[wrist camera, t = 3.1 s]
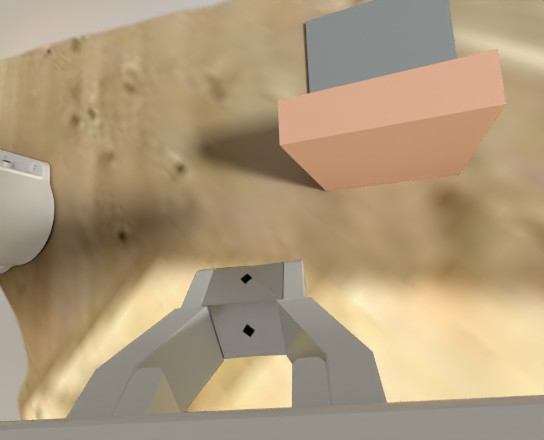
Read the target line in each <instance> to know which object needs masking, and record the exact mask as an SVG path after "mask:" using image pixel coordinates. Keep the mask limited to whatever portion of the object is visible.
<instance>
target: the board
mask: <svg viewBox="0 0 544 440" xmlns="http://www.w3.org/2000/svg"><path fill="white" fill-rule="evenodd" d="M505 105H506V100H505V94H504V87H503V81H502V74H501V68H500V62H499V55H498V49H496V50H492V51H487V52H483V53H479V54H475V55H470V56H466V57H462V58H458V59H453V60H449V61H445V62H441V63H436V64H432V65H428V66H424V67H419V68H415V69H411V70H407V71H402V72H398V73H394V74H389V75H385V76H381V77H377V78H372V79H368V80H364V81H360V82H355V83H351V84H347V85H343V86H338V87H334V88H330V89H326V90H321V91H317V92H313V93H308V94H304V95H300V96H296V97H291V98H287V99H283V100H279V101H278V118H279V142H280V146H281V147H282V148H283V149H284V150H285V151H286V152H287V153H288V154H289V155H290V156H291V157H292V158H293V159H294V160H295V161H296V162H297V163H298V164H299V165H300V166H301V167H302V168H303V169H304V170H305V171H306V172H307V173H308V174H309V175H310V176H311V177H312V178H313V179H314V180H315V181H316V182H317V183H318V184H319V185H321V186H322V187H323V188H324V189H325V190H326V191H332V190H340V189H349V188H357V187H365V186H373V185H382V184H390V183H398V182H406V181H415V180H423V179H431V178H439V177H447V176H456V175H459V174H460V173H461V171H462V170H463V168H464V167H465V165H466V164H467V162H468V161H469V159H470V158H471V156H472V155H473V153H474V152H475V150H476V148H477V147H478V145H479V144H480V142H481V141H482V139H483V138H484V136H485V135H486V133H487V132H488V130H489V129H490V127H491V126H492V124H493V123H494V121H495V120H496V118H497V117H498V115H499V114H500V112H501V111H502V109H503V108H504V106H505Z"/></svg>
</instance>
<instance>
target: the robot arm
mask: <svg viewBox="0 0 544 440" xmlns="http://www.w3.org/2000/svg"><path fill="white" fill-rule="evenodd" d="M53 219H54V199H53V194H52V190H51V187H50V166H49V164H48V163H47V162H43V161H40V160H36V159H33V158H29V157H25V156H22V155H18V154H15V153H11V152H8V151H4V150H0V274H2V273H4V272H6V271H7V270H8V269H10V268H11V267H12V266H16V265H22V264H25V263H27V262H29V261H31V260H32V259H33V258H35V257H36V256H37V255H38V253H39V252H40V251H41V250H42V248H43V247H44V245H45V243H46V241H47V239H48V237H49V234H50V232H51V228H52V224H53ZM269 355H287V357H288V358H289V360H290V361H291V363H292V407H285V408H265V409H244V410H224V411H203V412H185V411H186V409H187V408H188V407H189V405H190V404H191V403H192V401H193V400H194V399H195V398H196V396H197V395H198V394H199V392H200V391H201V390H202V389H203V387H204V386H205V385H206V383H207V382H208V381H209V379H210V378H211V377H212V376H213V374H214V373H215V372H216V370H217V369H218V368H219V367H220V365H221V364H222V363H223V361H224V360H223V359H229V358H240V357H250V356H269ZM0 440H544V395H530V396H510V397H489V398H469V399H448V400H428V401H408V402H387V401H386V398H385V394H384V391H383V387H382V383H381V380H380V376H379V373H378V369H377V366H376V362H375V358H374V355H373V352H372V351H371V350H370V349H369V348H368V347H366V346H365V345H364V344H363V343H362V342H361V341H360V340H359V339H357V338H356V337H355V336H354V335H353V334H352V333H351V332H349V331H348V330H347V329H346V328H345V327H344V326H343V325H342V324H340V323H339V322H338V321H337V320H336V319H335V318H334V317H333V316H331V315H330V314H329V313H328V312H327V311H326V310H325V309H323V308H322V307H321V306H320V305H319V304H318V303H317V302H316V301H314V300H313V299H312V298H311V297H307V289H306V281H305V273H304V265H303V261H302V259H301V260H294V261H287V262H281V263H272V264H264V265H255V266H239V267H226V268H216V269H215V268H213V269H204V270H199V271H197V272H196V274H195V276H194V279H193V281H192V283H191V286H190V288H189V290H188V293H187V295H186V297H185V300H184V302H183V304H182V307H181V308H178V309H175V310H173V311H172V312H171V313H169V314H168V315H167V316H165V317H164V318H163V319H162V320H160V321H159V322H158V323H156V324H155V325H154V326H152V327H151V328H150V329H148V330H147V331H146V332H145V333H143V334H142V335H141V336H139V337H138V338H137V339H135V340H134V341H133V342H132V343H130V344H129V345H128V346H126V347H125V348H124V349H122V350H121V351H120V352H118V353H117V354H116V355H115V356H113V357H112V358H111V359H109V360H108V361H107V362H105V363H104V364H103V365H101V366H100V367H99V368H98V369H96V371H95V372H94V374H93V375H92V377H91V379H90V380H89V382H88V384H87V385H86V387H85V388H84V390H83V392H82V393H81V395H80V397H79V398H78V400H77V401H76V403H75V405H74V406H73V408H72V410H71V411H70V413H69V414H68V416H67V418H62V419H42V420H21V421H1V422H0Z"/></svg>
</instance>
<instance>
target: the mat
mask: <svg viewBox="0 0 544 440" xmlns="http://www.w3.org/2000/svg"><path fill="white" fill-rule="evenodd" d="M306 38H307V55H308V72H309V89H310V93H313V92H317V91H321V90H326V89H330V88H334V87H338V86H343V85H347V84H351V83H355V82H360V81H364V80H368V79H372V78H377V77H381V76H385V75H389V74H394V73H398V72H402V71H407V70H411V69H415V68H419V67H424V66H428V65H432V64H436V63H441V62H445V61H449V60H453V59H457V58H456V50H455V43H454V35H453V28H452V20H451V13H450V5H449V0H373V1H370V2H367V3H364V4H361V5H358V6H354V7H351V8H348V9H345V10H342V11H339V12H335V13H332V14H329V15H326V16H323V17H320V18H317V19H313V20H310V21H307V22H306Z"/></svg>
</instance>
